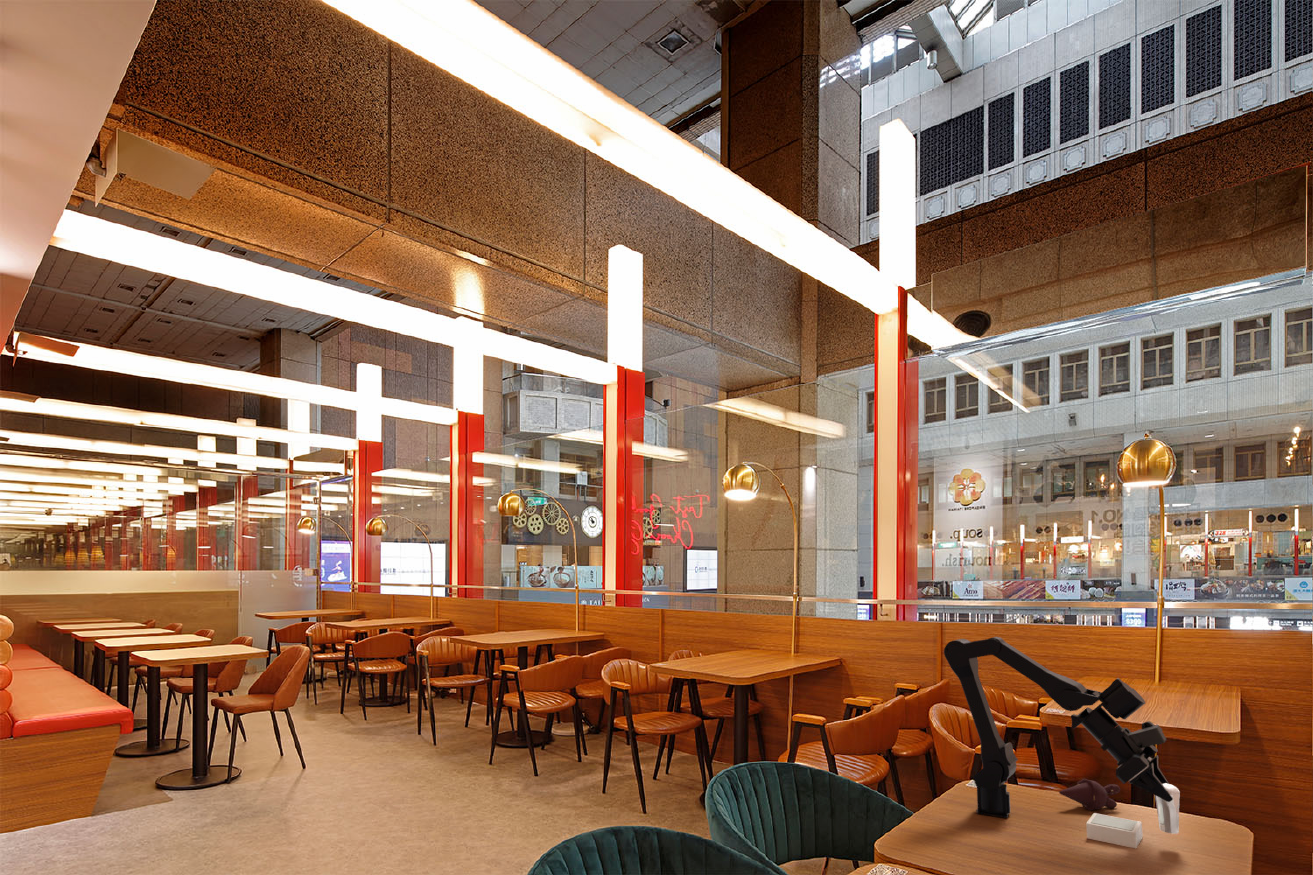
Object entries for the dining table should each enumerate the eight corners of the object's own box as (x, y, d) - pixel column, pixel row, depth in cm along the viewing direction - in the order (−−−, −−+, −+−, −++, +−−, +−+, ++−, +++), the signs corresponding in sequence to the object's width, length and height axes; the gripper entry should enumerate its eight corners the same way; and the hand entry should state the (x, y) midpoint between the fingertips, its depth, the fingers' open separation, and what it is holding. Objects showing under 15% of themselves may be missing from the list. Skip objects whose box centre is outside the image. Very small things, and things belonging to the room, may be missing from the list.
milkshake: (1153, 824, 165) (1150, 774, 166) (1183, 830, 161) (1180, 779, 163) (1149, 830, 161) (1146, 778, 163) (1181, 836, 158) (1177, 784, 159)
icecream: (1072, 786, 182) (1131, 791, 183) (1052, 769, 189) (1110, 774, 191) (1066, 815, 182) (1125, 819, 184) (1047, 797, 190) (1104, 801, 191)
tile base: (1087, 838, 166) (1086, 822, 166) (1095, 827, 173) (1094, 812, 173) (1136, 848, 160) (1135, 831, 161) (1142, 836, 167) (1141, 821, 168)
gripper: (1131, 715, 160) (1200, 784, 152) (1143, 703, 174) (1207, 765, 166) (1089, 749, 164) (1154, 817, 155) (1105, 734, 178) (1165, 796, 170)
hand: (1172, 797), depth 162 cm, fingers closed on milkshake, 4 cm apart
